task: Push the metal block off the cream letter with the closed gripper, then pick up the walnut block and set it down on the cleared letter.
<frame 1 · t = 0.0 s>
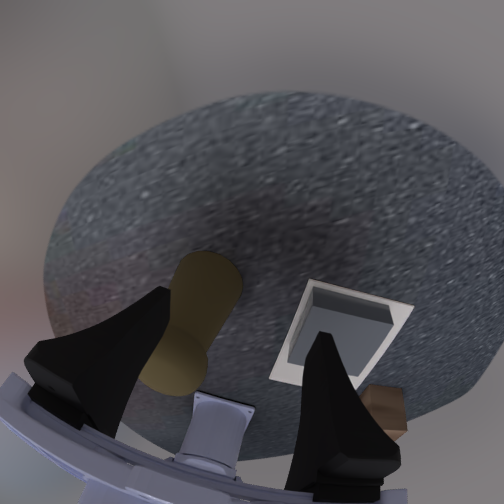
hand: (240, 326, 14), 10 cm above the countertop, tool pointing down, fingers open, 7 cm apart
letter: (335, 348, 27), on the countertop
metal block: (337, 325, 25), resting on letter
cork: (209, 280, 26), on the countertop
walnut block: (376, 396, 30), on the countertop
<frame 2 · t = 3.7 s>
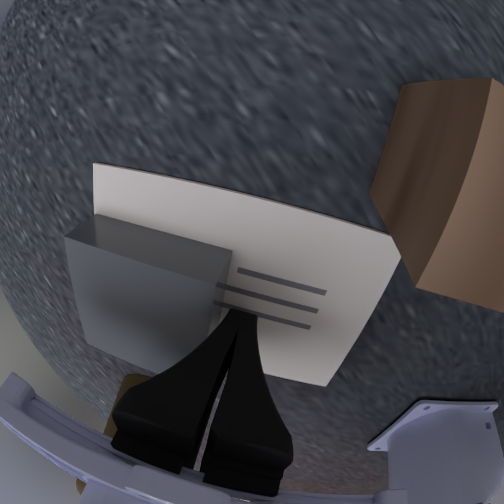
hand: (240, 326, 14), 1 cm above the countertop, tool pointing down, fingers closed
letter: (222, 291, 14), on the countertop
metal block: (156, 290, 14), resting on letter, touching gripper
cork: (156, 395, 21), on the countertop
walnut block: (436, 160, 9), on the countertop
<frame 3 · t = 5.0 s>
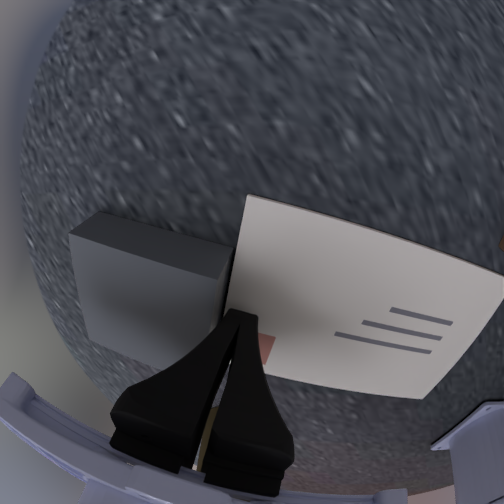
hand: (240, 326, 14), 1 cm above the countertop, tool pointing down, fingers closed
letter: (366, 328, 13), on the countertop
metal block: (158, 287, 15), on the countertop
cork: (243, 422, 21), on the countertop
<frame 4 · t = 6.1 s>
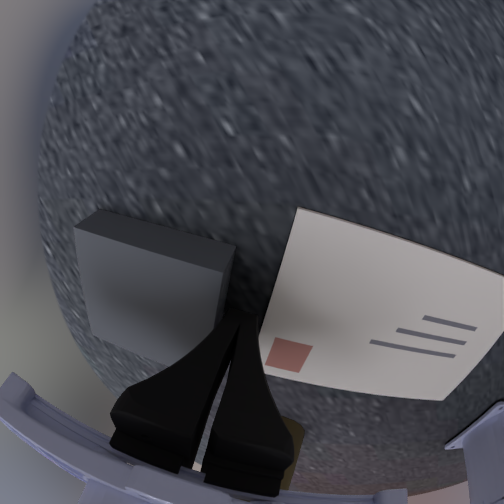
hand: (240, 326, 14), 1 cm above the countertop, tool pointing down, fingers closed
letter: (399, 335, 13), on the countertop
metal block: (162, 282, 15), on the countertop
cork: (267, 428, 20), on the countertop
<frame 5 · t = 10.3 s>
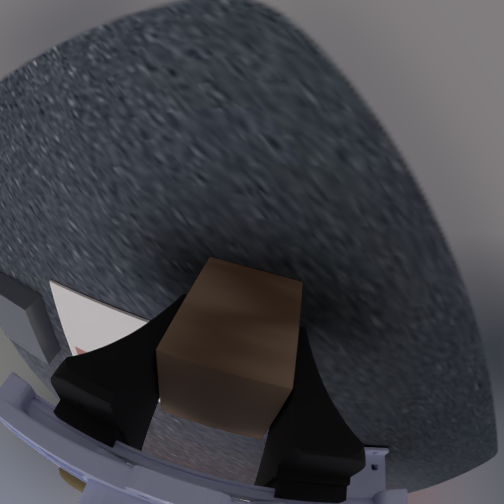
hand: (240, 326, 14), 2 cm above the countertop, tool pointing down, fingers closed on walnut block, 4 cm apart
letter: (135, 359, 20), on the countertop
metal block: (28, 308, 21), on the countertop
walnut block: (247, 305, 15), on the countertop, touching gripper
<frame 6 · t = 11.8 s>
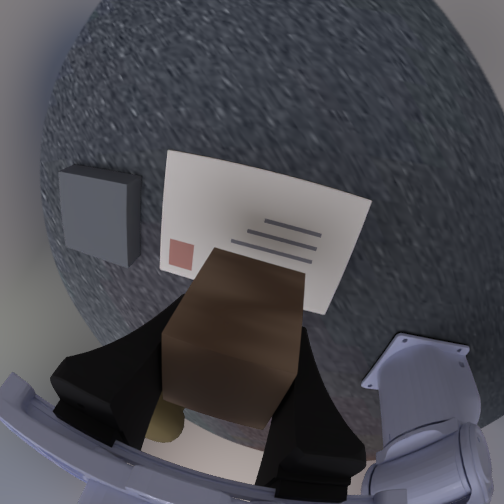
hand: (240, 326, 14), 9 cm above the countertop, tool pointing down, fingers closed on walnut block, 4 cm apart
letter: (253, 237, 21), on the countertop
metal block: (108, 207, 23), on the countertop
cork: (189, 339, 28), on the countertop
walnut block: (249, 296, 15), point 7 cm above the countertop, touching gripper
when the fingers open (3 cm above the countertop, at t = 13.3 s): walnut block stays where it is, resting on letter.
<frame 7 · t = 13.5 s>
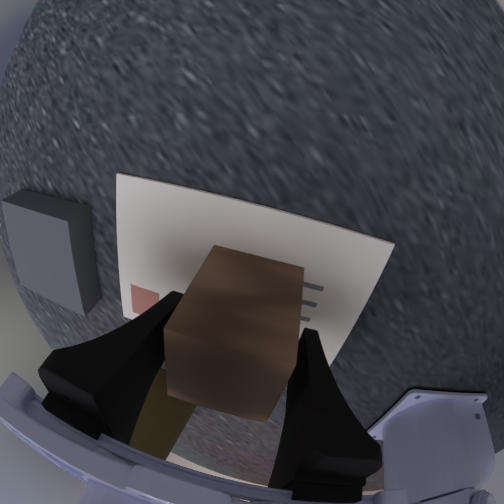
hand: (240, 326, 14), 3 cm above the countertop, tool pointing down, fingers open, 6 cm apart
letter: (232, 288, 16), on the countertop
metal block: (61, 240, 17), on the countertop
cork: (166, 387, 23), on the countertop
walnut block: (250, 292, 15), resting on letter
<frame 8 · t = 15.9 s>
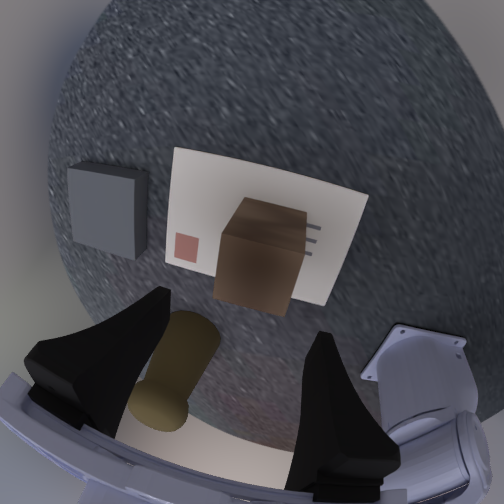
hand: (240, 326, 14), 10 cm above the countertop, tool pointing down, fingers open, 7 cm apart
letter: (256, 230, 22), on the countertop
metal block: (115, 202, 24), on the countertop
cork: (192, 331, 29), on the countertop
walnut block: (269, 232, 22), resting on letter
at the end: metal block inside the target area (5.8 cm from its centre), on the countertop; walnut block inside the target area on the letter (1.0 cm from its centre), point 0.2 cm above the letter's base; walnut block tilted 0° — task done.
